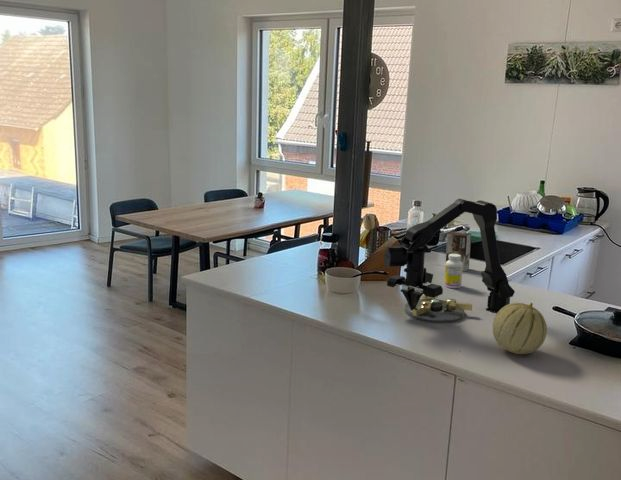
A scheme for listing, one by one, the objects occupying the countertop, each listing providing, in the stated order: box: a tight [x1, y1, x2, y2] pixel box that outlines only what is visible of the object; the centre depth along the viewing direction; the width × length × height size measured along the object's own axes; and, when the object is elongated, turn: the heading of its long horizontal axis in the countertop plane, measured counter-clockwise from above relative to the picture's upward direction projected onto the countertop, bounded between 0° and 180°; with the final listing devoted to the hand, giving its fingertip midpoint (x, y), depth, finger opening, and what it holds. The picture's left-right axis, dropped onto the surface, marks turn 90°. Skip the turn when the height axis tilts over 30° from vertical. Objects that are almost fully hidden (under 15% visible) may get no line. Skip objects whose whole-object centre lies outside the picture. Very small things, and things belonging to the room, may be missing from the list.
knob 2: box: [422, 294, 439, 301], centre depth 206 cm, size 9×3×3 cm, turn 141°
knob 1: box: [413, 301, 431, 316], centre depth 193 cm, size 9×3×3 cm, turn 137°
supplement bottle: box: [443, 254, 463, 289], centre depth 229 cm, size 7×7×13 cm
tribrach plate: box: [404, 298, 465, 324], centre depth 199 cm, size 20×20×4 cm
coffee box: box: [445, 230, 472, 272], centre depth 254 cm, size 9×6×16 cm
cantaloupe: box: [492, 302, 548, 355], centre depth 166 cm, size 15×15×15 cm
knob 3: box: [445, 298, 473, 311], centre depth 197 cm, size 9×3×3 cm, turn 77°
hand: (412, 310), depth 194 cm, fingers closed
